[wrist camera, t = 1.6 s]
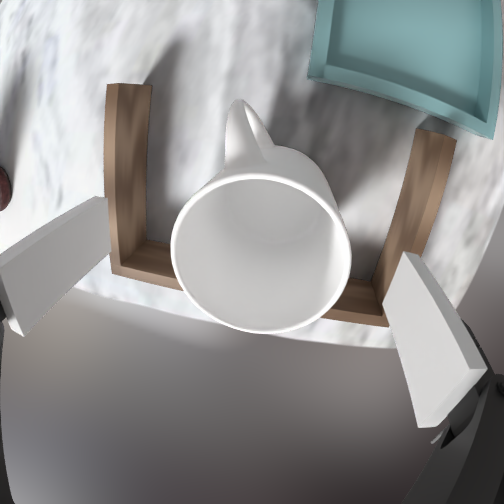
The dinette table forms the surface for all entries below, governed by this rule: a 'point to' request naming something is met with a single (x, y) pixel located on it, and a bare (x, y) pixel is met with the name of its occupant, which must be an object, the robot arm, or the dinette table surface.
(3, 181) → the can
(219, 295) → the mug
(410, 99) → the tray
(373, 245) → the dinette table surface
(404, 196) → the bay
